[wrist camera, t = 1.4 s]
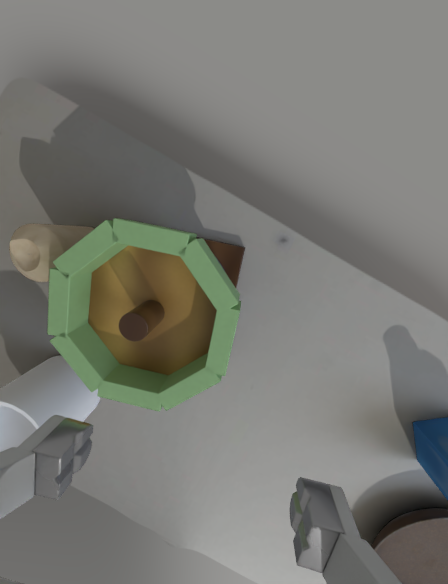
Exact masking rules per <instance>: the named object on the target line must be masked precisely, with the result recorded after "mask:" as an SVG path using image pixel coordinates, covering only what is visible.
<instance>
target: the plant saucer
mask: <svg viewBox="0 0 448 584" xmlns="http://www.w3.org/2000/svg"><path fill="white" fill-rule="evenodd" d="M372 548H373V549H374V551H375V552H376V553H377V554H378V555H379V557H380V558H381V559H382V560H383V561H384V563H385V564H386V565H387V566H388V567H389V569H390V570H391V571H392V572H393V573H394V575H395V576H396V577H397V578H398V579H399V581H400V582H401V583H402V584H448V509H439V508H431V509H421V510H416V511H412V512H409V513H406V514H403V515H401V516H399V517H397V518H395V519H393V520H392V521H390V522H389V523H388V524H387V525H386V526H384V527H383V529H382V530H381V531H380V532H379V534H378V535H377V537H376V538H375V540H374V542H373V544H372Z"/></svg>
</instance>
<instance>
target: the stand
mask: <svg viewBox="0 0 448 584" xmlns="http://www.w3.org/2000/svg"><path fill="white" fill-rule="evenodd" d="M196 239H200V238H199V237H196ZM204 241H205V242H206V244H207V245H208V247H209V248H210V250H211V251H212V253H213V254H214V256H215V257H216V259H217V260H218V262H219V263H220V265H221V266H222V268H223V269H224V271H225V273H226V274H227V276H228V277H229V279H230V280H231V282H232V283H233V285H234V286H235V288H236V287H237V282H238V278H239V273H240V269H241V264H242V259H243V255H244V250H245V247H241V246H236V245H232V244H227V243H222V242H217V241H213V240H208V239H204ZM216 312H217V310H216V309H215V307H214V306H213V304H212V303H211V301H210V300H209V298H208V297H207V295H206V294H205V292H204V291H203V289H202V288H201V286H200V285H199V284H198V282H197V281H196V279H195V278H194V276H193V275H192V273H191V272H190V270H189V269H188V267H187V266H186V264H185V263H184V261H183V260H182V259H181V257H180V256H176V255H171V254H167V253H162V252H157V251H153V250H148V249H143V248H139V247H134V246H129V245H128V246H127V247H126V248H124V249H123V250H121V251H120V252H119V253H117V254H116V255H115V256H113V257H112V258H111V259H109V260H108V261H107V262H105V263H104V264H103V265H101V266H100V267H99V268H97V269H96V270H94V271H93V272H92V277H91V290H90V303H89V317H88V323H89V325H90V326H91V327H92V328H93V330H94V331H95V332H96V334H97V335H98V336H99V338H100V339H101V340H102V341H103V343H104V344H105V345H106V347H107V348H108V349H109V351H110V352H111V353H112V354H113V356H114V357H115V358H116V360H117V361H118V362H119V364H123V365H127V366H131V367H135V368H139V369H143V370H148V371H152V372H156V373H160V374H164V375H170V374H172V373H174V372H175V371H177V370H179V369H181V368H182V367H184V366H186V365H188V364H189V363H191V362H193V361H194V360H196V359H198V358H200V357H201V356H203V355H205V354H207V353H208V351H209V346H210V341H211V336H212V331H213V326H214V321H215V316H216Z"/></svg>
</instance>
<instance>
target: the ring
mask: <svg viewBox="0 0 448 584" xmlns="http://www.w3.org/2000/svg"><path fill="white" fill-rule="evenodd" d="M196 237H197V234H195V233H190V232H185V231H181V230H176V229H171V228H166V227H162V226H157V225H152V224H147V223H143V222H138V221H133V220H126V219H118V218H114V219H113V221H112V220H105V221H104V222H103V223H101V224H100V225H99V226H98V227H96V228H95V229H94V230H92V231H91V232H90V233H89V234H87V235H86V236H85V237H84V238H82V239H81V240H80V241H78V242H77V243H76V244H75V245H73V246H72V247H71V248H70V249H68V250H67V251H66V252H64V253H63V254H62V255H61V256H59V257H58V258H57V259H56V260H54V261H53V263H54V265H55V266H56V267H54V268H50V270H49V300H48V329H47V334H49V335H53V336H55V337H54V338H52V339H51V340H50V342H51V343H52V344H53V346H54V347H55V348H56V349H57V351H58V352H59V353H60V354H61V355H62V357H63V358H64V359H65V360H66V362H67V363H68V364H69V365H70V367H71V368H72V369H73V370H74V372H75V373H76V374H77V375H78V377H79V378H80V379H81V380H82V382H83V383H84V384H85V385H86V386H87V388H88V389H89V390H90V391H91V392H93V391H95V390H97V389H98V394H97V396H98V397H103V398H107V399H111V400H115V401H119V402H123V403H127V404H131V405H135V406H139V407H143V408H147V409H151V410H155V411H160V410H161V408H162V406H163V407H164V409H165V410H166V411H167V410H169V409H171V408H173V407H174V406H176V405H178V404H180V403H182V402H184V401H185V400H187V399H189V398H191V397H193V396H195V395H197V394H198V393H200V392H202V391H204V390H206V389H208V388H209V387H211V386H213V385H215V384H217V383H219V382H220V381H221V377H222V376H225V375H226V370H227V366H228V361H229V357H230V353H231V348H232V344H233V340H234V335H235V331H236V326H237V322H238V318H239V313H240V307H241V301H239V296H240V294H239V292H238V291H237V289H236V288H235V286H234V285H233V283H232V282H231V280H230V279H229V277H228V276H227V274H226V273H225V271H224V269H223V268H222V266H221V265H220V263H219V262H218V260H217V259H216V257H215V256H214V254H213V253H212V251H211V250H210V248H209V247H208V245H207V244H206V242H205V241H204V239H203V238H200V239H196ZM128 245H129V246H134V247H139V248H143V249H148V250H153V251H157V252H162V253H167V254H171V255H176V256H180V257H181V259H182V260H183V261H184V263H185V264H186V266H187V267H188V269H189V270H190V272H191V273H192V275H193V276H194V278H195V279H196V281H197V282H198V284H199V285H200V286H201V288H202V289H203V291H204V292H205V294H206V295H207V297H208V298H209V300H210V301H211V303H212V304H213V306H214V307H215V309H216V310H217V312H216V316H215V321H214V326H213V331H212V336H211V341H210V346H209V351H208V353H207V354H205V355H203V356H201V357H200V358H198V359H196V360H194V361H193V362H191V363H189V364H188V365H186V366H184V367H182V368H181V369H179V370H177V371H175V372H174V373H172V374H170V375H164V374H160V373H156V372H152V371H148V370H143V369H139V368H135V367H131V366H127V365H123V364H119V362H118V361H117V360H116V358H115V357H114V356H113V354H112V353H111V352H110V351H109V349H108V348H107V347H106V345H105V344H104V343H103V341H102V340H101V339H100V338H99V336H98V335H97V334H96V332H95V331H94V330H93V328H92V327H91V326H90V325H89V323H88V317H89V303H90V290H91V277H92V272H93V271H94V270H96V269H97V268H99V267H100V266H101V265H103V264H104V263H105V262H107V261H108V260H109V259H111V258H112V257H113V256H115V255H116V254H117V253H119V252H120V251H121V250H123V249H124V248H126V247H127V246H128Z"/></svg>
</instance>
